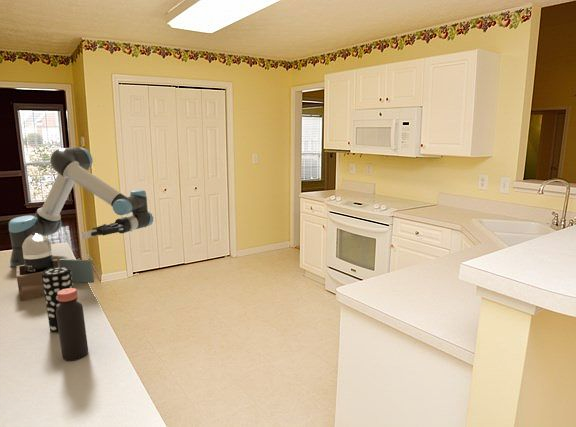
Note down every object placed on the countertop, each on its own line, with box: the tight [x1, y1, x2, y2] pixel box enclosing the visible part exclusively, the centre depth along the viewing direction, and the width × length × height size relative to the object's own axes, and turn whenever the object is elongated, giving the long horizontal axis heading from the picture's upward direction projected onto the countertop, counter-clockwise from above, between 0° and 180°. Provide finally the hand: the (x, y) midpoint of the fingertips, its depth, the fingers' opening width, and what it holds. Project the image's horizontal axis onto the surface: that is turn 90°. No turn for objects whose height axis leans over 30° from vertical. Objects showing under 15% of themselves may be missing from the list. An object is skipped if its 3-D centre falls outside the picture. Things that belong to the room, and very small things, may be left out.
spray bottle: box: [22, 232, 54, 274], centre depth 165 cm, size 10×10×25 cm
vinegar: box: [56, 287, 89, 362], centre depth 115 cm, size 7×7×20 cm
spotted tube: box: [42, 266, 74, 334], centre depth 133 cm, size 8×8×20 cm
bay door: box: [58, 258, 95, 284], centre depth 176 cm, size 16×1×10 cm, turn 79°
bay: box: [15, 259, 59, 302], centre depth 166 cm, size 16×15×10 cm
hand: (83, 235), depth 176 cm, fingers closed
